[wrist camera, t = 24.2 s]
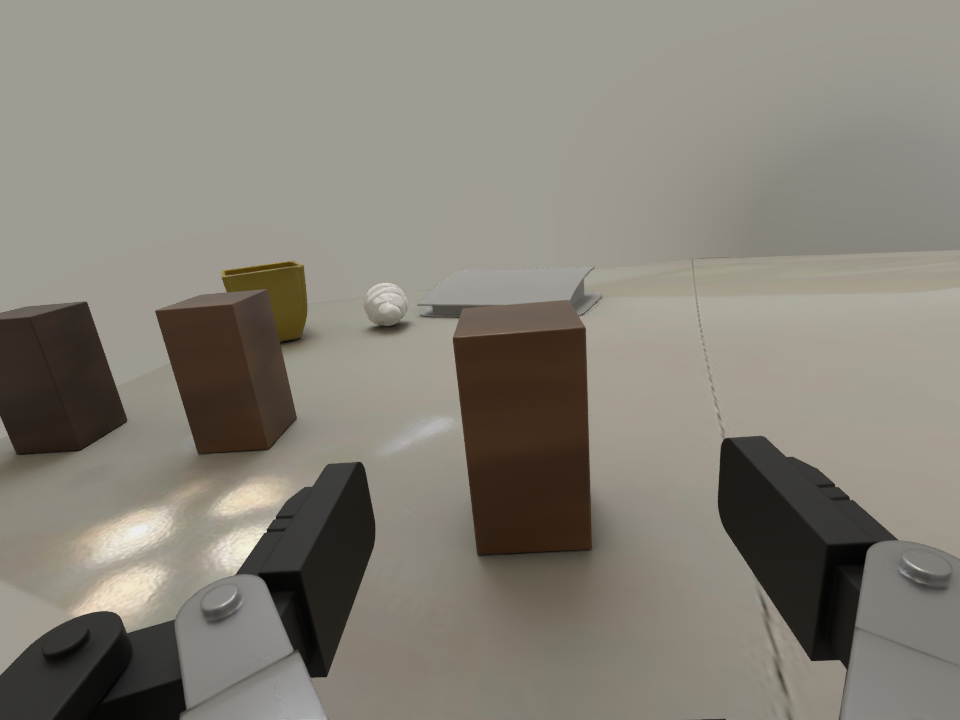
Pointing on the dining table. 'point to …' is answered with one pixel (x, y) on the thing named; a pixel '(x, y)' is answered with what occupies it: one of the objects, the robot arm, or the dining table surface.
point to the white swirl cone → (385, 304)
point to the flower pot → (275, 292)
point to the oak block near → (55, 379)
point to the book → (508, 289)
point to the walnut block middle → (229, 369)
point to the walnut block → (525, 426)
